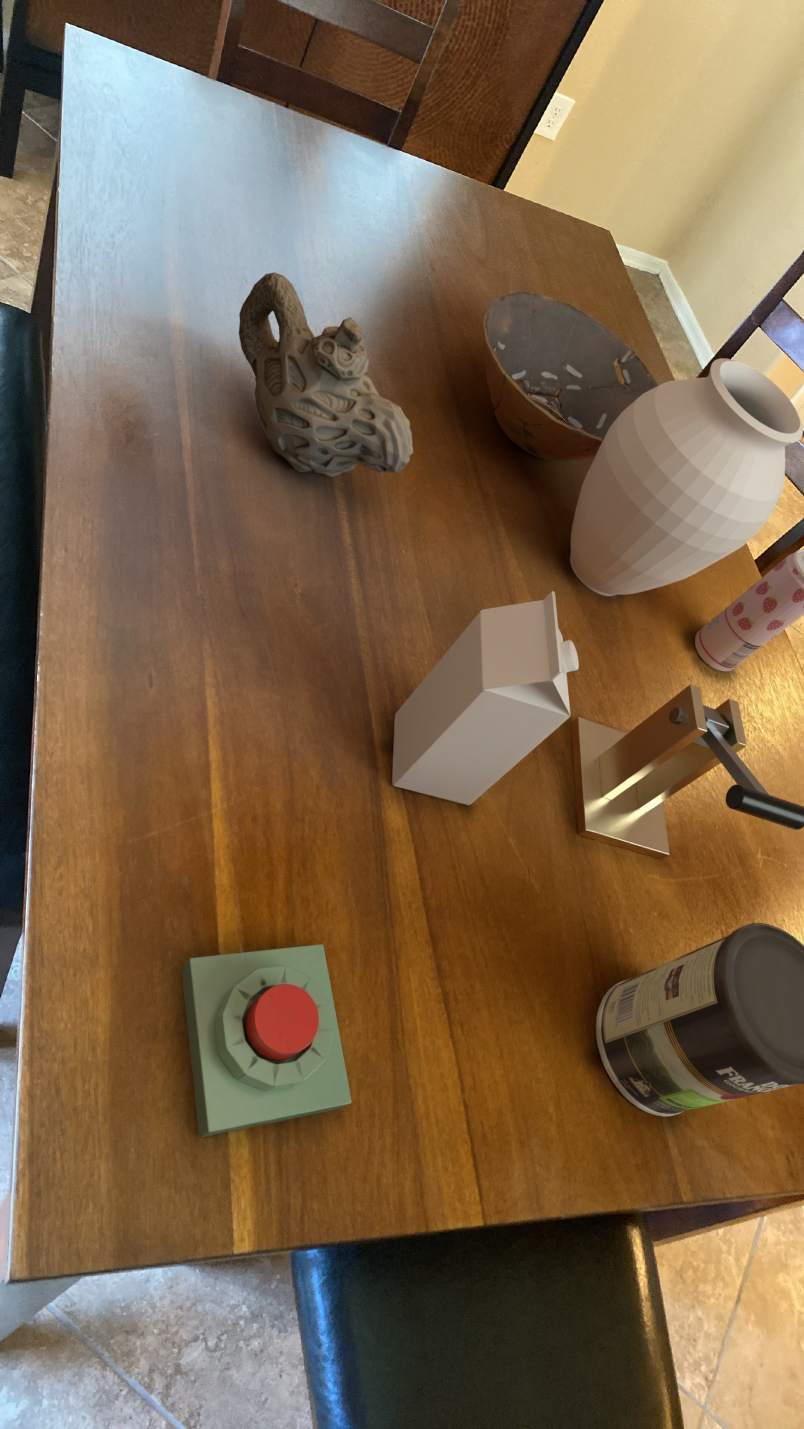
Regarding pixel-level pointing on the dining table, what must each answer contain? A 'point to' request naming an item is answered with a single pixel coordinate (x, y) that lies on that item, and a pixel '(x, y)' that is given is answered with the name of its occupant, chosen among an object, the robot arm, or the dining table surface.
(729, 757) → the lever handle
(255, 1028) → the button
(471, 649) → the milk carton
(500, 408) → the bowl
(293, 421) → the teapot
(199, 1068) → the button block
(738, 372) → the vase
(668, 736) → the lever bracket
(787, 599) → the beverage can
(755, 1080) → the coffee can
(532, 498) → the dining table surface
